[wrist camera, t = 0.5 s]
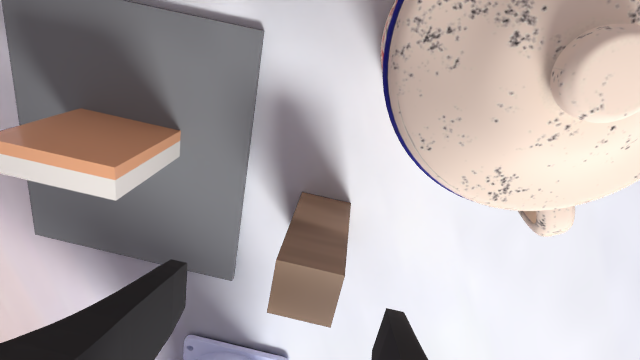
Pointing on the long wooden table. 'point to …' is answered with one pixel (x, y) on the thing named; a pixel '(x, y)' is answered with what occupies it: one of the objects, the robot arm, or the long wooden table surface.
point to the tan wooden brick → (311, 261)
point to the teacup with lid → (518, 100)
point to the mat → (149, 107)
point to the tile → (88, 152)
